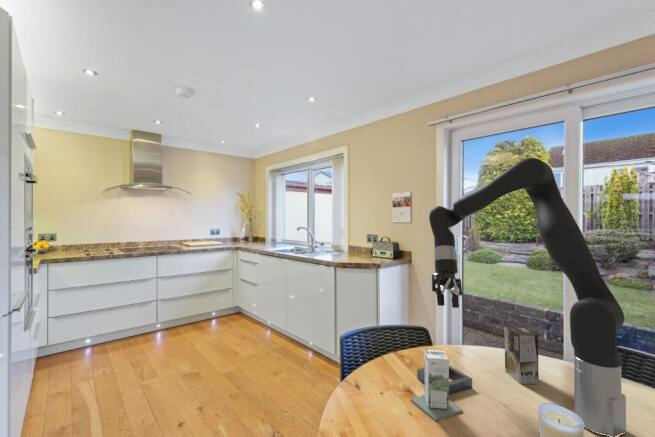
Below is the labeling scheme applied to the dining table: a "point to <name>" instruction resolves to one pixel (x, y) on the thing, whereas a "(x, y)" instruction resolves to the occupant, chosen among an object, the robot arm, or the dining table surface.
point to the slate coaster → (436, 413)
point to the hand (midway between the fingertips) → (448, 306)
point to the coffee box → (521, 354)
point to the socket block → (455, 386)
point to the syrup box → (436, 379)
